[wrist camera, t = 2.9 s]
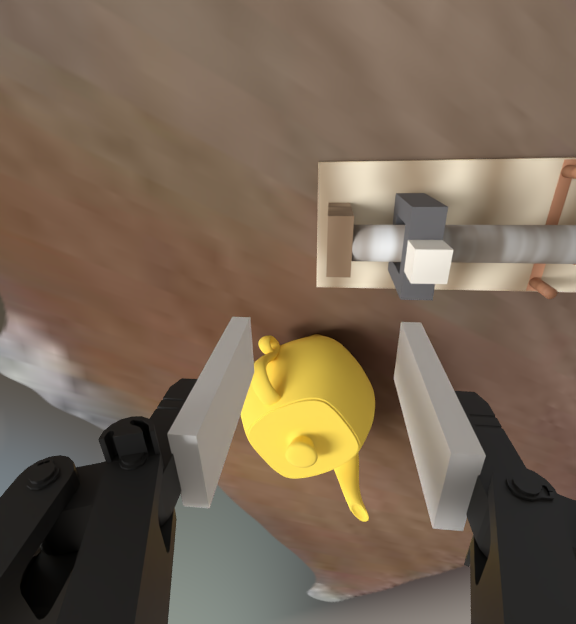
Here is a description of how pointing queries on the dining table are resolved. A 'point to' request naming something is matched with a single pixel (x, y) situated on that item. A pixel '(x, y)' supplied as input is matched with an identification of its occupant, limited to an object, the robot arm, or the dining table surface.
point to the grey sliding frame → (420, 246)
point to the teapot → (310, 411)
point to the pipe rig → (453, 221)
